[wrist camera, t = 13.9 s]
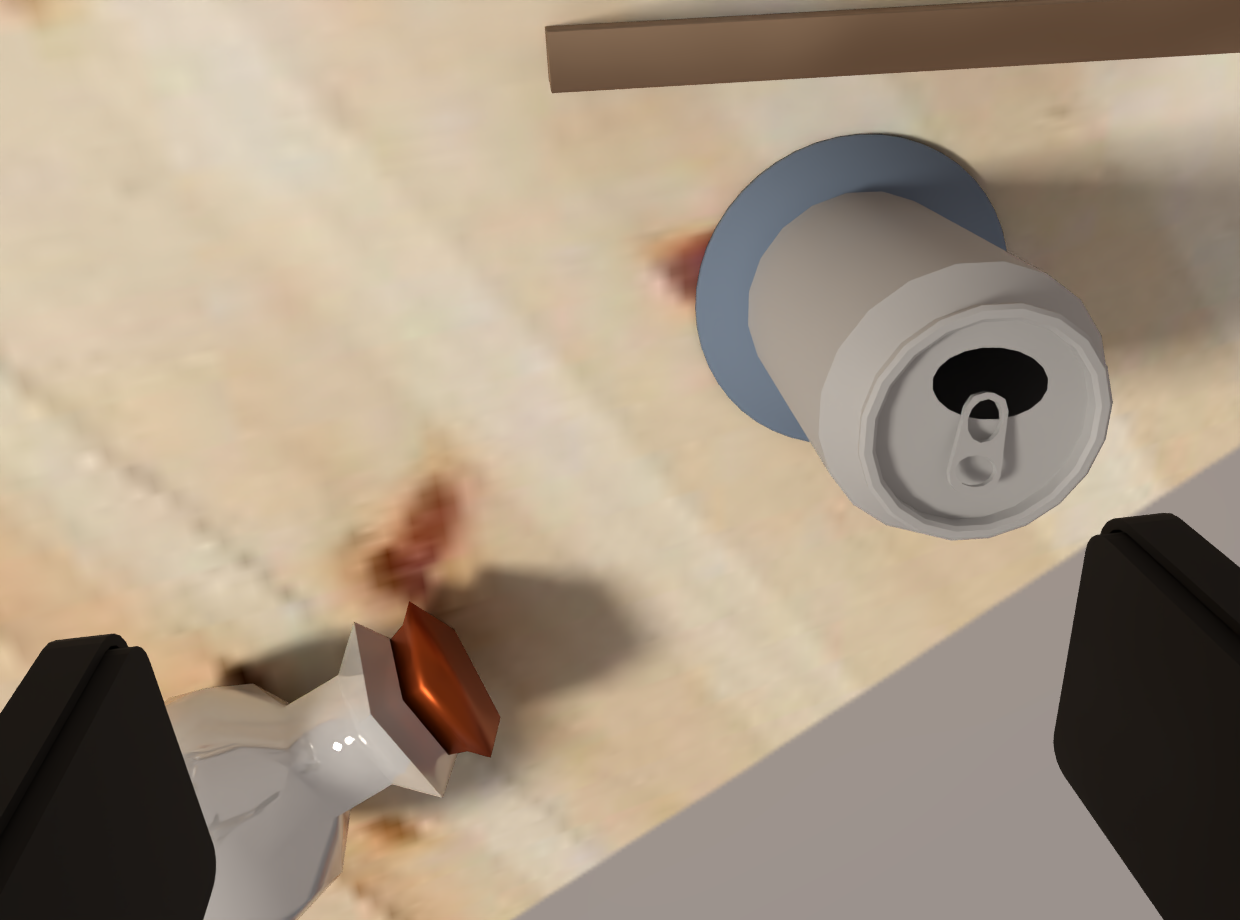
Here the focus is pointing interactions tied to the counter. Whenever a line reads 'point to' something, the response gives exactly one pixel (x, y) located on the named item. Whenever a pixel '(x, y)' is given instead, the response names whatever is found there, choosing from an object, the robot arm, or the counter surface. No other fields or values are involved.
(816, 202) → the mat
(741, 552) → the counter surface
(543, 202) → the counter surface
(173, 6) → the counter surface
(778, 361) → the can
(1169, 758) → the robot arm
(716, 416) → the counter surface
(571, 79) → the low wall
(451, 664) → the potion bottle
